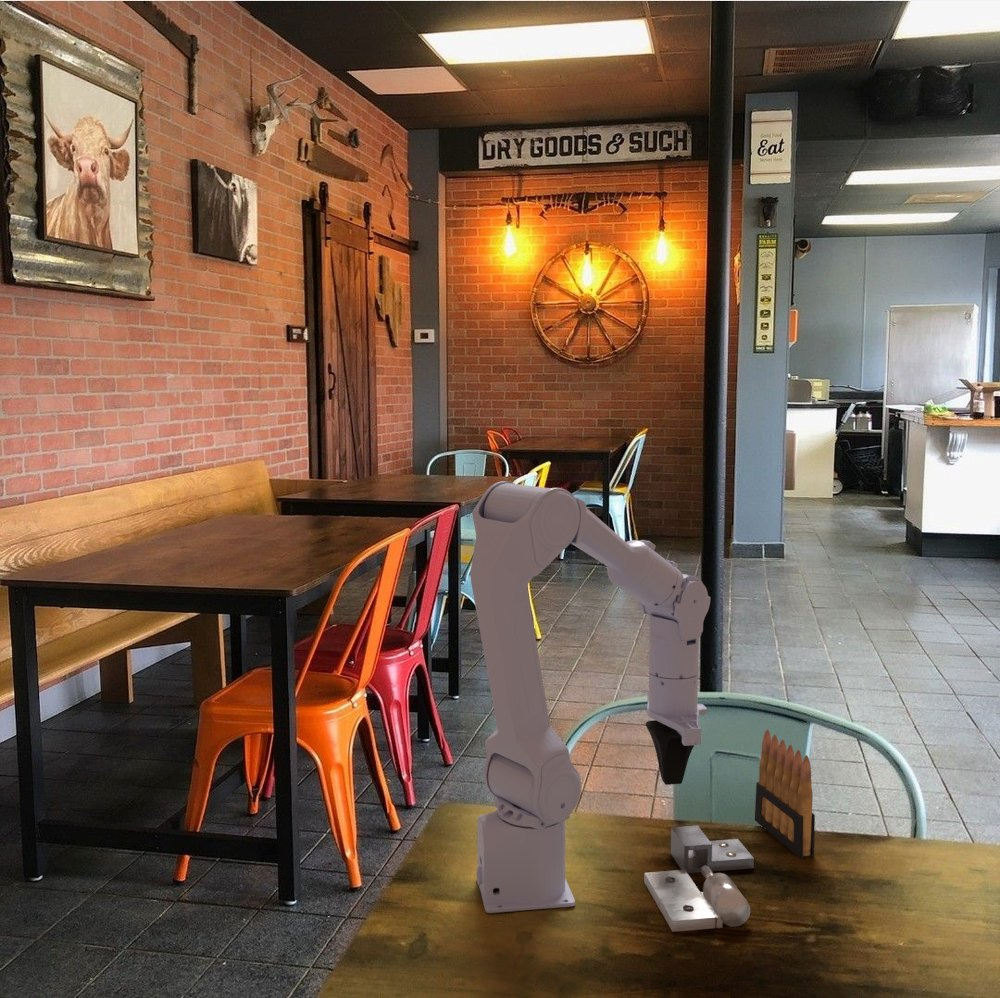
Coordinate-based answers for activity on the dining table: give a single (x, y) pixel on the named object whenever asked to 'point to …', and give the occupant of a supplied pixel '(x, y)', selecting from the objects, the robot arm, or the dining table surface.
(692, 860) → the loose leaf
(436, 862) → the dining table surface
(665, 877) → the fixed leaf
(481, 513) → the robot arm
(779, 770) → the ammunition clip
